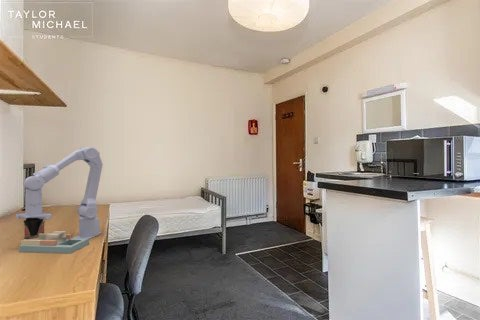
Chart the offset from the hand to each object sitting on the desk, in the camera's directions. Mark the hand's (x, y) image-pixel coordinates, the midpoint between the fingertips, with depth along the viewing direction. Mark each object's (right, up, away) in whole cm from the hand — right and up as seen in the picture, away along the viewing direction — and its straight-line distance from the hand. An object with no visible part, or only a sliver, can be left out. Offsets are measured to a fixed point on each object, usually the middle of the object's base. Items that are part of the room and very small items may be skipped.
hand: (33, 235), depth 115 cm
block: (+10, -3, -1) cm, 11 cm away
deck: (+10, -5, -1) cm, 11 cm away
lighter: (-10, -5, +14) cm, 18 cm away
